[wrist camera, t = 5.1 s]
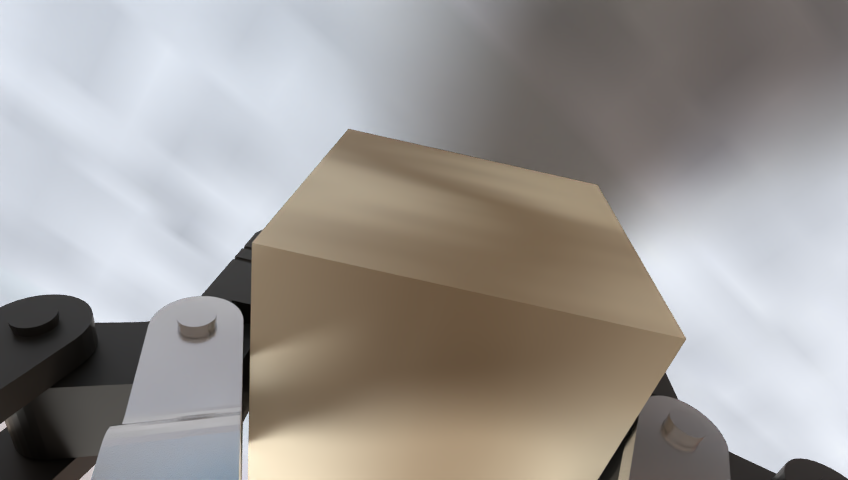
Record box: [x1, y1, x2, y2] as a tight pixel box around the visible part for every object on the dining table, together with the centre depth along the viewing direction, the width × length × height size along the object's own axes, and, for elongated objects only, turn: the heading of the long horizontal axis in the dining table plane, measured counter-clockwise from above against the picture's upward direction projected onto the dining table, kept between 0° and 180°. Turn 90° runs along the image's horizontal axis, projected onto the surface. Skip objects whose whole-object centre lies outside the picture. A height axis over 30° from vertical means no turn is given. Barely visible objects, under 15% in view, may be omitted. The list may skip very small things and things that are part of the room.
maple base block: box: [248, 129, 686, 480], centre depth 9 cm, size 6×6×5 cm
